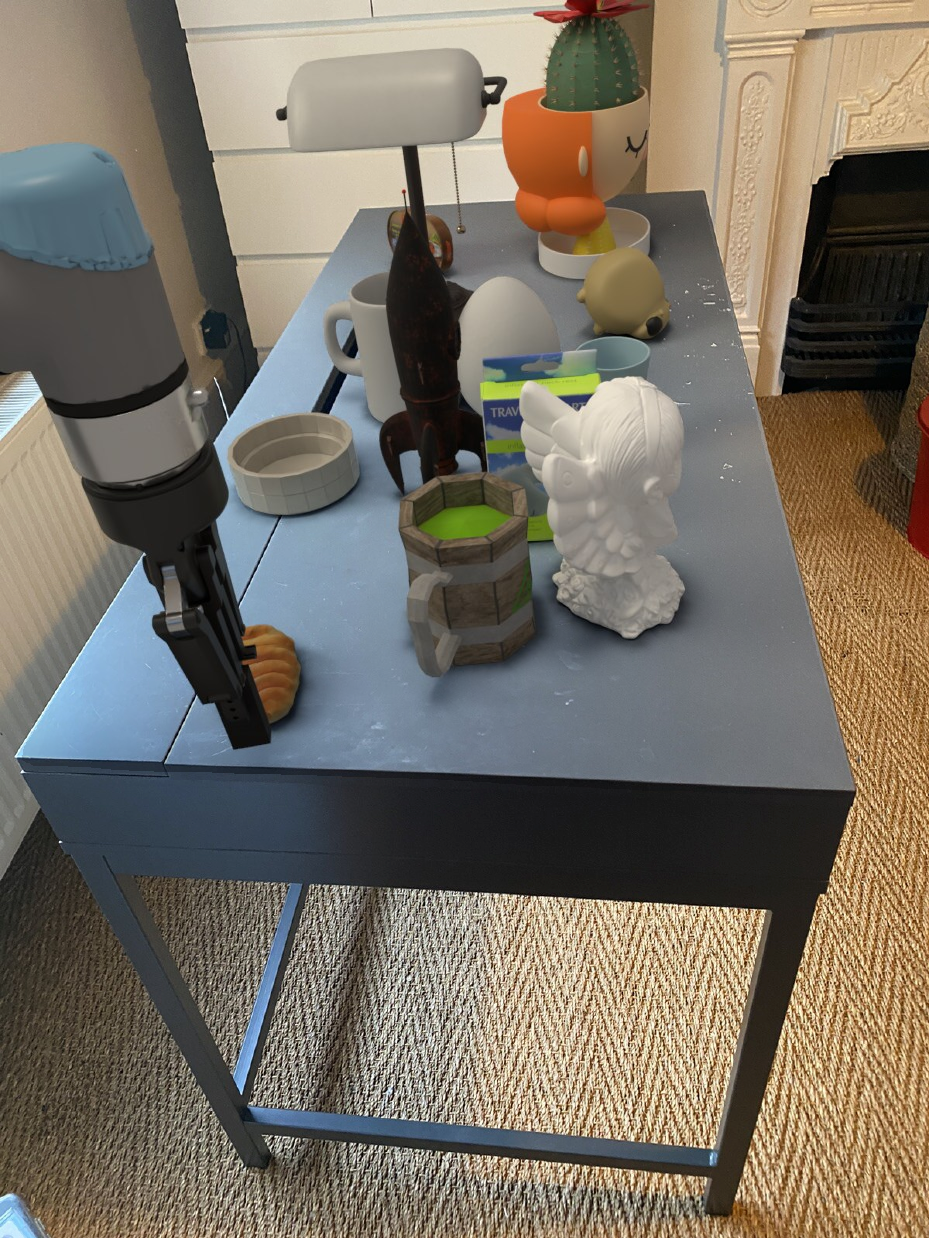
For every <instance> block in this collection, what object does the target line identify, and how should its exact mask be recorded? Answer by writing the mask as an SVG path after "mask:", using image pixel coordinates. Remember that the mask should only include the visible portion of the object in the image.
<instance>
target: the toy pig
mask: <svg viewBox="0 0 929 1238" xmlns="http://www.w3.org/2000/svg"><path fill="white" fill-rule="evenodd" d="M583 280H584V281H583V284H582V285H583V286H582V288H581V289H580V290H579V291H578V292H577V294H576V297H575V298H576V301H577V302H578V303H580V304H584V306H585V308H586V311H587V313H588V315H589V316H590V318H591V319H592V321H593V323H594V325H593V329H592V330H593V333H594V334H595V335H597V336H601V335H604V334H605V333H608V334H613V335H625V334H628V335H629V336H632V337H634V338H635V339H641V340H648V339H651V338H654V337H655V336H657V335H659V334H660V332H662V330H664V329H665V327H666V326H667V324H668V322H669V320H670V316H671V309H670V308H671V307H672V303H671V302H669V300H668V299H667V297H666V294H665V293H666V292H665V285H664V281H663V278H662V276H661V273H660V271H659V270H658V268H657V266H656V265H655V262H654V261H653V260H652V259H651V258H650V257H649V255H648V256H647V255H646V254H645V253H644V252H642V251H641V250H639V249H636V248H632V247H621V248H617V249H614V250H611V251H609V252H607V253H605V254H604V255H602V256H601V257H599V258H598V259H597V260H596V261H595V262H594V263H593V264H592V266H591V267H590V268H589V270H588V272H587V274H586V277H585V279H583Z"/></svg>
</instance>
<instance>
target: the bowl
mask: <svg viewBox="0 0 929 1238" xmlns="http://www.w3.org/2000/svg"><path fill="white" fill-rule="evenodd" d="M357 453H358V452H357V448H356V443H355V439H354V432H353V429H352V427H351V426H350V425H349V424H348V423H347V422H346V420H344V419H342V418H340V417H337V416H335V415H333V414H329V413H323V412H295V413H288V414H281V415H278V416H274V417H271V418H268V419H265V420H262V421H259V422H258V423H256V424H254V425H252V426H250V427H248V428H246V429H245V430H244V431H242V432H241V433H239V434H238V435H237V436H236V437H234V439H233V440H232V442H231V444H229V446H228V447H227V455H226V460H227V464H228V467H229V471H230V474H231V476H232V480H233V483H234V486H235V490H236V493H237V495H238V498H239V499H240V500H241V502H242V504H243V505H245V506H246V507H249V509H251V510H253V511H256V512H260V513H265V514H268V515H276V516H277V515H278V516H292V515H293V516H294V515H299V514H304V513H310V512H313V511H317V510H320V509H323V508H325V507H328V506H330V505H331V504H333V503H335V502H336V501H339V500H340V499H342V497H344V496H346V495H347V494H348V492H350V491H351V490H352V489H353V488H354V487H355V486H356V484H357V483H358V479H359V478H360V475H361V471H360V462H359V458H358V454H357Z"/></svg>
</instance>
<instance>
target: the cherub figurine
mask: <svg viewBox="0 0 929 1238" xmlns="http://www.w3.org/2000/svg"><path fill="white" fill-rule="evenodd" d="M595 392H596V393H595V394H594V395H593V396H592V397H591V398H590V399H589V401H588V402H587V404H586V406H582V407H581V408H580V410H579V411H578V412H577V411H576V410H574V409H573V408H572V407H570V406H569V405H568V404H566V403H565V402H563V401H562V400H561V399H559V398H558V397H557V396H555V395H554V394H552V393H551V392H550V391H548V390H547V389H545V388H544V387H543V386H541V385H539V384H538V383H536V382H533V381H527V382H526V383H525V384H524V385H523V387H522V389H521V394H520V400H519V409H520V413H521V416H522V418H523V420H524V421H523V423H522V426H521V438H522V441H523V444H524V446H525V447H526V450H525V456H526V459H527V462H528V464H529V465H530V466H531V467H532V471H533V473H534V475H535V476H536V478H537V479H538V480H539V481H541V482H542V483H543V486H544V488H545V490H546V492H547V494H548V495H549V497H550V499H549V502H548V508H547V518H548V522H549V526H550V528H551V530H552V531H553V532H554V540H553V544H554V547H555V549H556V551H557V552H558V553H559V554H560V555H561V556H562V557H563V558H562V559H561V563H560V567H559V568H560V569H559V570H560V571H559V572H556V573H554V574H553V575H552V578H551V579H552V582H553V583H554V584H555V586H557V588H558V589H557V594H556V600H557V601H558V602H559V603H562V604H563V605H565V607H567V608H568V609H570V612H571V613H573V614H574V615H576V616H579V618H582V619H584V620H587V621H588V622H591V623H593V624H597V625H600V626H602V627H604V628H606V629H608V630H611V631H614V632H616V633H618V634H620V635H621V636H622V638H624V639H631V640H632V639H636V638H637V637H638V636H639V635H640V634H642V633H643V632H644V631H645V630H648V629H651V628H654V627H655V626H656V625H658V624H663V625H668V624H670V623H671V622H672V621H673V619H674V616H675V613H676V612H677V611H678V610H679V606H680V602H681V598H682V596H683V595H684V593H685V590H686V588H685V585H684V582H683V580H681V578H680V575H679V573H678V572H677V571H676V570H675V569H674V567H672V564H671V562H670V561H668V558H666V557H665V556H664V555H662V554H661V555H660V554H657V552H656V551H654V550H657V549H660V548H662V547H666V546H667V545H671V544H672V543H674V542H676V541H677V539H678V537H679V531H678V528H677V524H676V523H675V521H674V515H673V513H672V510H671V508H670V506H669V496H671V495H673V494H674V493H675V492H676V491H677V490H678V489H679V486H680V484H681V480H682V471H683V459H682V451H683V449H684V443H685V427H684V422H683V419H682V415H681V413H680V410H679V407H678V406H677V404H676V403H675V401H674V400H673V399H672V398H671V397H670V396H668V395H666V394H665V393H664V392H663V391H661V390H659V389H658V386H656V384H654V383H651V382H649V381H648V380H647V379H646V380H644V379H643V378H642V377H629V376H627V377H625V378H614V379H613V380H611V381H610V382H609V381H605V382H602V383H600V384H599V385H598V386H597V387H596V389H595Z"/></svg>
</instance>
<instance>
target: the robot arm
mask: <svg viewBox="0 0 929 1238" xmlns="http://www.w3.org/2000/svg"><path fill="white" fill-rule="evenodd" d="M155 251H156V249H155V244H154V241H153V239H152V237H151V235H150V233H149V232H148V231H147V230H146V228H145V225H144V223H143V220H142V217H141V215H140V212H139V209H138V207H137V204H136V200H135V198H134V195H133V192H132V190H131V188H130V185H129V182H128V179H127V176H126V174H125V172H124V169H123V168H122V166H121V164H120V163H119V161H118V160H117V159H116V158H115V157H114V156H113V155H112V154H111V153H109V152H108V151H107V150H106V149H103V148H101V147H99V146H96V145H94V144H91V143H90V144H89V143H84V142H56V143H46V144H38V145H33V146H29V147H25V148H23V149H20V150H15V151H7V152H2V153H0V377H2V376H8V375H13V374H15V373H19V372H20V373H21V372H30V374H31V376H32V377H33V380H34V381H35V382H36V385H37V386H38V388H39V390H40V393H41V394H42V397H43V399H44V402H45V404H46V409H47V410H48V412H49V414H50V418H51V420H52V422H53V424H54V426H55V429H56V431H57V433H58V436H59V438H60V441H61V443H62V446H63V448H64V451H65V452H66V455H67V457H68V460H69V462H70V464H71V466H72V469H73V470H74V471H75V472H76V474H77V475H78V476H80V477H81V478H80V479H81V482H80V483H81V487H82V489H83V492H84V494H85V496H86V498H87V500H88V503H89V505H90V507H91V509H92V512H93V514H94V517H95V519H96V521H97V523H98V525H99V527H100V529H101V531H102V532H103V534H104V535H105V536H106V537H107V538H108V539H109V540H111V541H113V542H115V543H118V544H120V545H123V546H127V547H131V548H134V549H136V550H138V551H139V552H142V553H144V555H142V558H141V562H142V563H141V564H142V569H143V571H144V574H145V576H146V579H147V581H148V583H149V584H150V585H151V586H153V587H154V589H155V590H156V592H157V596H158V597H159V600H160V603H161V604H162V607H163V609H164V610H161V611H159V612H158V613H156V614H153V615H152V617H151V627H152V630H153V631H154V634H155V636H157V637H158V638H159V639H160V640H162V641H163V642H165V644H166V645H167V647H168V649H169V650H170V652H171V653H172V655H173V657H174V659H175V661H176V662H177V664H178V665H179V668H180V669H181V671H182V672H183V674H184V676H185V677H186V679H187V681H188V683H189V685H190V687H191V688H192V690H193V691H194V694H195V696H196V697H197V699H198V700H199V702H200V703H201V705H202V706H205V705H210V704H214V705H215V708H216V710H217V713H218V715H219V718H220V721H221V723H222V725H223V727H224V730H225V732H226V735H227V738H228V741H229V743H230V745H231V748H232V750H233V751H237V750H242V749H248V748H253V747H260V746H265V745H270V744H272V727H271V723H270V724H269V721H268V718H267V715H266V712H265V709H264V707H263V704H262V701H261V698H260V695H259V692H258V689H257V687H256V684H255V681H254V678H253V675H252V672H251V670H250V667H249V664H245V665H243V663H242V661H245V660H251V659H256V658H257V649H256V645H255V644H253V645H247V646H244V643H243V641H242V638H241V637H243V636H245V631H246V628H245V627H246V625H245V623H244V621H243V617H242V614H241V610H240V607H239V603H238V599H237V595H236V591H235V587H234V585H233V580H232V578H231V574H230V570H229V566H228V562H227V559H226V555H225V552H224V547H223V545H222V541H221V537H220V533H219V529H218V524H217V519H219V517H220V516H221V515H222V514H223V512H224V511H225V509H226V508H227V505H228V503H229V498H230V490H229V485H228V484H227V480H226V477H225V474H224V470H223V467H222V464H221V460H220V458H219V454H218V452H217V448H216V445H215V444H214V442H213V441H212V439H210V438H209V433H210V432H209V427H208V424H207V423H208V422H207V420H206V417H205V414H204V410H203V407H205V406H206V405H208V404H209V402H210V400H211V397H210V393H209V391H208V390H207V389H206V388H205V387H195V388H194V385H193V383H192V381H193V377H192V374H191V371H190V366H189V363H188V361H187V358H186V354H185V351H184V349H183V346H182V343H181V339H180V336H179V333H178V332H179V331H178V329H177V326H176V322H175V319H174V315H173V311H172V309H171V306H170V302H169V298H168V296H167V292H166V289H165V285H164V281H163V278H162V275H161V272H160V267H159V265H158V262H157V258H156V254H155Z"/></svg>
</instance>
